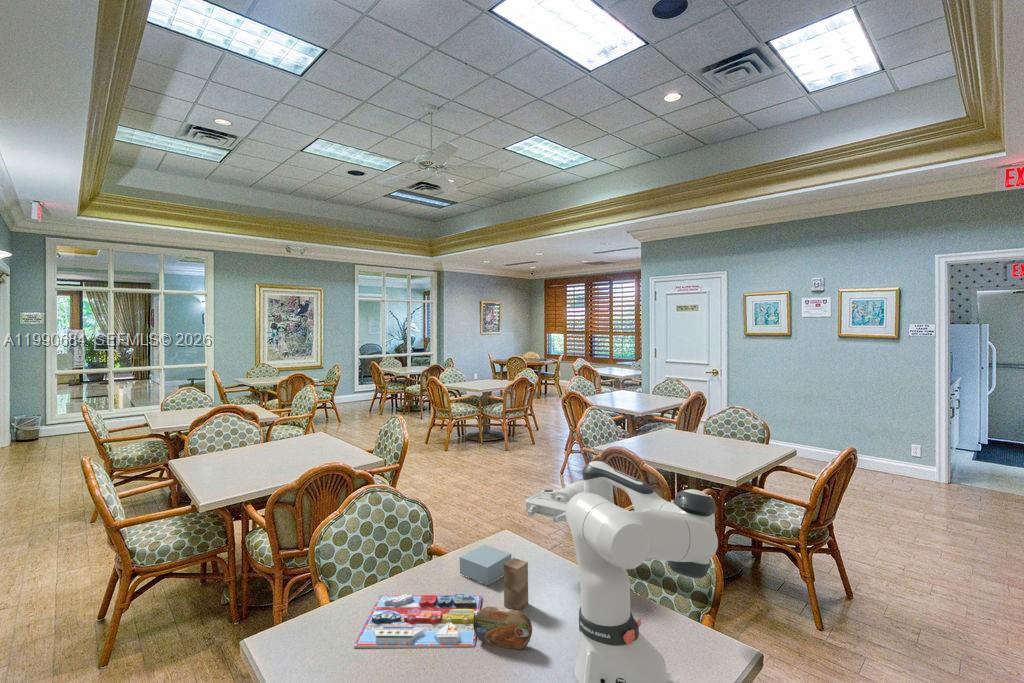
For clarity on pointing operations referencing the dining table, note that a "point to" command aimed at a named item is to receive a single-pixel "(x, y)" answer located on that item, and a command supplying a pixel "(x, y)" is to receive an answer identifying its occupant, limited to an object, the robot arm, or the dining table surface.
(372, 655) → the dining table surface
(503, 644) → the tin
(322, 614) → the dining table surface
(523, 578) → the walnut block
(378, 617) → the puzzle board
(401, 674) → the dining table surface
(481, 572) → the grey box
